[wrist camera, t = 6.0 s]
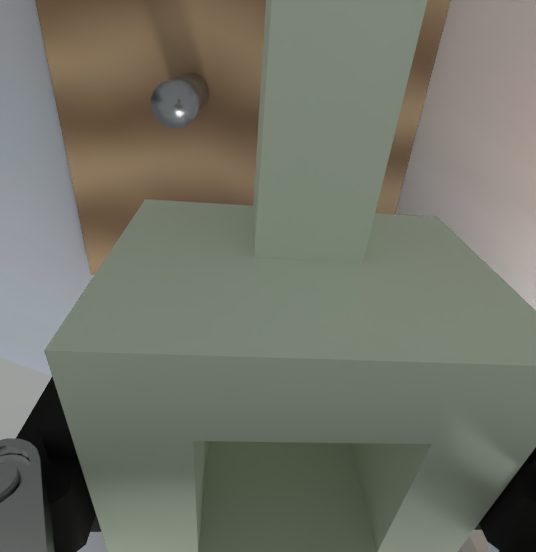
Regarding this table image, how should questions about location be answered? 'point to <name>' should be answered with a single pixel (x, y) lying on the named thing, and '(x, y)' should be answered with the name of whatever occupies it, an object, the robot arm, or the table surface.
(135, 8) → the board
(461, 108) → the table surface
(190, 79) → the post
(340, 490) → the hollow frame with stem
